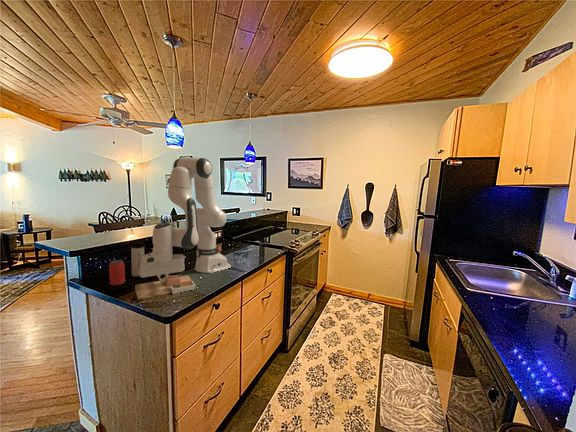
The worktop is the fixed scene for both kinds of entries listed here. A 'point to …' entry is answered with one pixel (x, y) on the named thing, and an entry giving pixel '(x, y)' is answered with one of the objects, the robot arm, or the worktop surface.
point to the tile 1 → (173, 280)
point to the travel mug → (136, 256)
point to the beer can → (117, 272)
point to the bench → (151, 289)
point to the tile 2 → (185, 282)
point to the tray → (176, 289)
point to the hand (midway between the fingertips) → (162, 282)
